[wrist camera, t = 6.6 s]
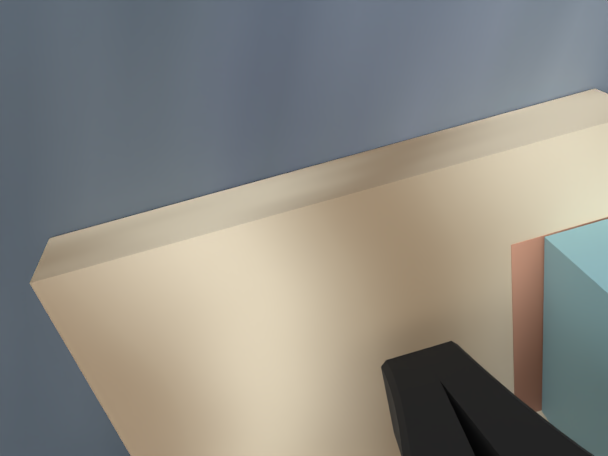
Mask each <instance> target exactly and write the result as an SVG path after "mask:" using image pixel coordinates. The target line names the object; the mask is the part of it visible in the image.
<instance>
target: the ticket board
mask: <svg viewBox="0 0 608 456" xmlns="http://www.w3.org/2000/svg"><path fill="white" fill-rule="evenodd" d="M605 219H608V94H607V93H604V92H602V91H600V90H597V89H592V90H588V91H584V92H581V93H577V94H573V95H570V96H566V97H562V98H559V99H555V100H551V101H548V102H544V103H541V104H537V105H533V106H530V107H526V108H522V109H519V110H515V111H511V112H508V113H504V114H500V115H497V116H493V117H490V118H486V119H482V120H479V121H475V122H471V123H468V124H464V125H460V126H457V127H453V128H449V129H446V130H442V131H439V132H435V133H431V134H428V135H424V136H420V137H417V138H413V139H409V140H406V141H402V142H398V143H395V144H391V145H388V146H384V147H380V148H377V149H373V150H369V151H366V152H362V153H358V154H355V155H351V156H348V157H344V158H340V159H337V160H333V161H329V162H326V163H322V164H318V165H315V166H311V167H307V168H304V169H300V170H297V171H293V172H289V173H286V174H282V175H278V176H275V177H271V178H267V179H264V180H260V181H256V182H253V183H249V184H246V185H242V186H238V187H235V188H231V189H227V190H224V191H220V192H216V193H213V194H209V195H205V196H202V197H198V198H195V199H191V200H187V201H184V202H180V203H176V204H173V205H169V206H165V207H162V208H158V209H154V210H151V211H147V212H144V213H140V214H136V215H133V216H129V217H125V218H122V219H118V220H114V221H111V222H107V223H104V224H100V225H96V226H93V227H89V228H85V229H82V230H78V231H74V232H71V233H67V234H63V235H60V236H56V237H53V238H49V241H48V243H47V245H46V247H45V250H44V252H43V254H42V256H41V259H40V261H39V263H38V266H37V268H36V270H35V272H34V275H33V277H32V279H31V281H30V285H31V286H32V288H33V290H34V291H35V293H36V295H37V296H38V298H39V300H40V302H41V303H42V305H43V307H44V308H45V310H46V312H47V314H48V315H49V317H50V319H51V320H52V322H53V324H54V325H55V327H56V329H57V331H58V332H59V334H60V336H61V337H62V339H63V341H64V343H65V344H66V346H67V348H68V349H69V351H70V353H71V354H72V356H73V358H74V360H75V361H76V363H77V365H78V366H79V368H80V370H81V372H82V373H83V375H84V377H85V378H86V380H87V382H88V383H89V385H90V387H91V389H92V390H93V392H94V394H95V395H96V397H97V399H98V400H99V402H100V404H101V406H102V407H103V409H104V411H105V412H106V414H107V416H108V418H109V419H110V421H111V423H112V424H113V426H114V428H115V429H116V431H117V433H118V435H119V436H120V438H121V440H122V441H123V443H124V445H125V447H126V448H127V450H128V452H129V453H130V455H131V456H401V453H400V450H399V447H398V444H397V441H396V438H395V435H394V431H393V426H392V421H391V416H390V411H389V405H388V400H387V395H386V390H385V385H384V380H383V375H382V370H381V366H382V365H383V363H384V362H385V361H386V360H388V359H391V358H395V357H398V356H402V355H405V354H408V353H412V352H415V351H418V350H422V349H425V348H429V347H432V346H435V345H439V344H442V343H445V342H449V341H453V342H455V343H456V344H458V345H459V346H460V347H461V348H462V349H463V350H464V351H465V352H466V353H468V354H469V355H470V356H471V357H472V358H473V359H474V360H475V361H476V362H477V363H478V364H480V365H481V366H482V367H483V368H484V369H485V370H486V371H487V372H489V373H490V374H491V375H492V376H493V377H494V378H496V379H497V380H498V381H499V382H500V383H501V384H503V385H504V386H505V387H506V388H507V389H508V390H510V391H511V392H512V393H513V394H514V395H516V396H517V397H518V398H519V399H520V400H522V401H523V402H524V403H525V404H527V405H528V406H529V407H530V408H532V409H533V410H534V411H536V412H537V413H538V414H539V415H541V416H542V417H543V418H544V419H546V420H547V421H548V419H547V418H546V417H545V415H544V414H543V412H542V367H543V303H544V239H545V237H546V236H549V235H553V234H556V233H560V232H563V231H567V230H570V229H574V228H577V227H581V226H584V225H588V224H591V223H595V222H598V221H602V220H605ZM548 422H549V421H548Z"/></svg>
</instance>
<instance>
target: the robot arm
mask: <svg viewBox="0 0 608 456" xmlns="http://www.w3.org/2000/svg"><path fill="white" fill-rule="evenodd" d="M381 370H382V375H383V380H384V385H385V390H386V395H387V400H388V405H389V411H390V416H391V421H392V426H393V431H394V435H395V438H396V441H397V444H398V447H399V450H400V453H401V456H594V455H593V454H591V453H590V452H588V451H587V450H586V449H584V448H583V447H581V446H580V445H579V444H577V443H576V442H575V441H573V440H572V439H571V438H569V437H568V436H567V435H565V434H564V433H562V432H561V431H560V430H559V429H557V428H556V427H555V426H553V425H552V424H551V423H550V422H548V421H547V420H546V419H544V418H543V417H542V416H541V415H539V414H538V413H537V412H536V411H534V410H533V409H532V408H530V407H529V406H528V405H527V404H525V403H524V402H523V401H522V400H520V399H519V398H518V397H517V396H516V395H514V394H513V393H512V392H511V391H510V390H508V389H507V388H506V387H505V386H504V385H503V384H501V383H500V382H499V381H498V380H497V379H496V378H494V377H493V376H492V375H491V374H490V373H489V372H487V371H486V370H485V369H484V368H483V367H482V366H481V365H480V364H478V363H477V362H476V361H475V360H474V359H473V358H472V357H471V356H470V355H469V354H468V353H466V352H465V351H464V350H463V349H462V348H461V347H460V346H459V345H458V344H456V343H455V342H453V341H449V342H445V343H442V344H439V345H435V346H432V347H429V348H425V349H422V350H418V351H415V352H412V353H408V354H405V355H402V356H398V357H395V358H391V359H388V360H386V361H385V362H384V363H383V365H382V366H381Z"/></svg>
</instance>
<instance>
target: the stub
mask: <svg viewBox="0 0 608 456" xmlns="http://www.w3.org/2000/svg"><path fill="white" fill-rule="evenodd" d="M542 412H543V414H544V415H545V417H546V418H547V419H548V421H549V422H550V423H551V424H552V425H553V426H555V427H556V428H557V429H559V430H560V431H561V432H562V433H564V434H565V435H567V436H568V437H569V438H571V439H572V440H573V441H575V442H576V443H577V444H579V445H580V446H581V447H583V448H584V449H586V450H587V451H588V452H590V453H591V454H593V455H594V456H608V219H605V220H602V221H598V222H595V223H591V224H588V225H584V226H581V227H577V228H574V229H570V230H567V231H563V232H560V233H556V234H553V235H549V236H546V237H545V239H544V303H543V367H542Z"/></svg>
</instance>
